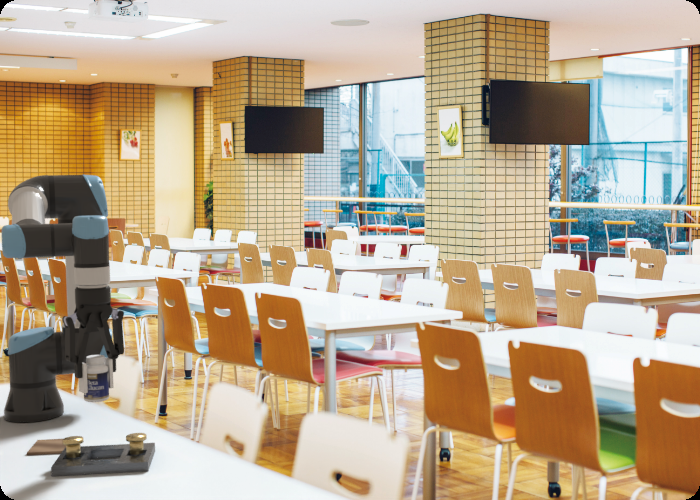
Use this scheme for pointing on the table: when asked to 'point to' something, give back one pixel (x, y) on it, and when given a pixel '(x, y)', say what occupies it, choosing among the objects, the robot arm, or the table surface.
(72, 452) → the plunger
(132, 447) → the plunger
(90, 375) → the pill bottle
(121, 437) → the table surface
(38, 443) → the coaster
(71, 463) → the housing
